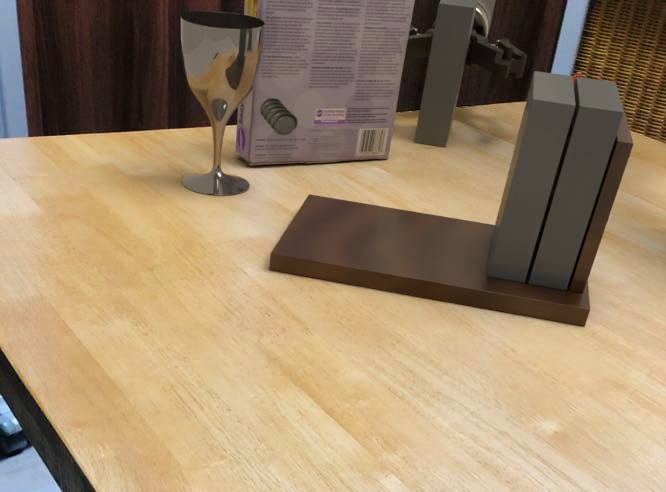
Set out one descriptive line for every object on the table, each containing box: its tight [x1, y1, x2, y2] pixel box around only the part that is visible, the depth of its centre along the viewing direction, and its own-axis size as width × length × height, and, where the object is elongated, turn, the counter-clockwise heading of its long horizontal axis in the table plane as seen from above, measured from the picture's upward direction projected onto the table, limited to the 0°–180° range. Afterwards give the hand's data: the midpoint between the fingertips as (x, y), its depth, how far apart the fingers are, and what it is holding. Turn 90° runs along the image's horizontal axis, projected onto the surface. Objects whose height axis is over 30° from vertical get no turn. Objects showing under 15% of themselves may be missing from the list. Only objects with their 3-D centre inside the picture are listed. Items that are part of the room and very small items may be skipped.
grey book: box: [413, 0, 478, 148], centre depth 106 cm, size 4×8×15 cm, turn 166°
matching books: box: [487, 70, 625, 290], centre depth 72 cm, size 7×10×14 cm
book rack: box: [269, 110, 634, 327], centre depth 75 cm, size 27×16×14 cm, turn 76°
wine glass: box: [179, 10, 265, 196], centre depth 86 cm, size 8×8×15 cm
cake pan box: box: [234, 0, 416, 166], centre depth 94 cm, size 19×5×18 cm, turn 113°
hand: (444, 69), depth 102 cm, fingers open, 11 cm apart
